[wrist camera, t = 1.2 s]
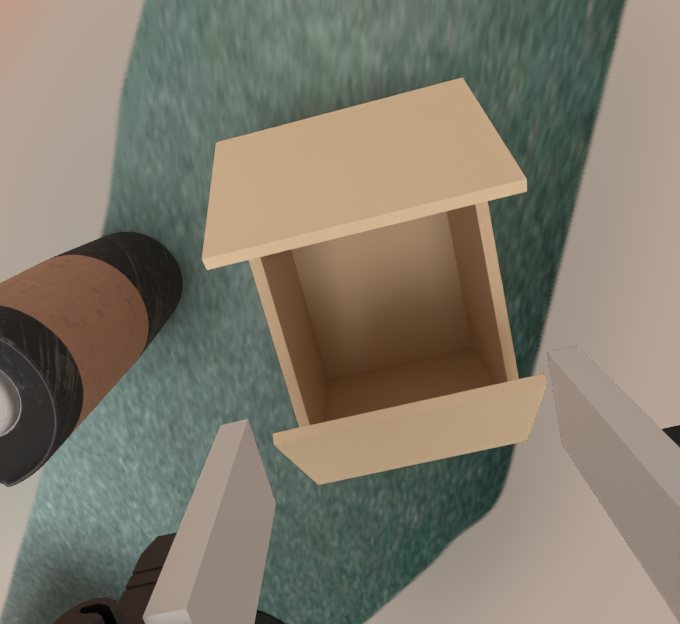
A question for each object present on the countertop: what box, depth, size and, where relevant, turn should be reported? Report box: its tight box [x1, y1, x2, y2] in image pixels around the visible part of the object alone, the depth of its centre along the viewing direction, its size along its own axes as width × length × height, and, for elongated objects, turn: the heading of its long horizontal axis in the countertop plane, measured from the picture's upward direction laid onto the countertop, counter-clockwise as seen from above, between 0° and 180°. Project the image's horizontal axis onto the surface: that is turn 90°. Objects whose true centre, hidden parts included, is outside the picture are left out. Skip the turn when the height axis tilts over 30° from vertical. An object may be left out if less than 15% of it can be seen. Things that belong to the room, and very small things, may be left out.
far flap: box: [273, 374, 547, 485], centre depth 29 cm, size 9×12×1 cm
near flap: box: [202, 77, 527, 270], centre depth 25 cm, size 9×12×1 cm
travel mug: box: [0, 232, 182, 487], centre depth 34 cm, size 8×8×20 cm
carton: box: [249, 201, 519, 428], centre depth 37 cm, size 18×12×12 cm, turn 14°
